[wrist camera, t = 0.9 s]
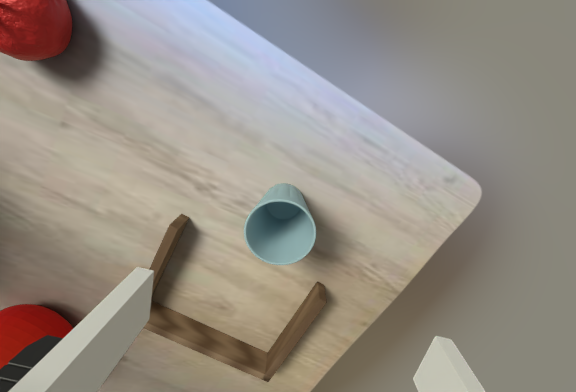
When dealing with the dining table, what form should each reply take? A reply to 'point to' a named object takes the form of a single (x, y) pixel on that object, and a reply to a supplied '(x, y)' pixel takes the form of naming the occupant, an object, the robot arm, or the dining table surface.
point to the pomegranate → (34, 28)
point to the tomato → (27, 328)
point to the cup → (280, 226)
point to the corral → (216, 341)
